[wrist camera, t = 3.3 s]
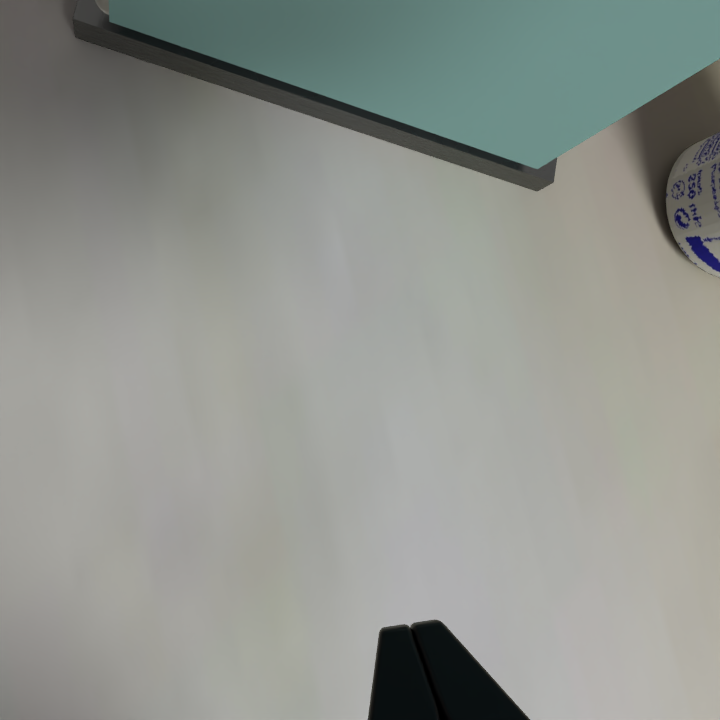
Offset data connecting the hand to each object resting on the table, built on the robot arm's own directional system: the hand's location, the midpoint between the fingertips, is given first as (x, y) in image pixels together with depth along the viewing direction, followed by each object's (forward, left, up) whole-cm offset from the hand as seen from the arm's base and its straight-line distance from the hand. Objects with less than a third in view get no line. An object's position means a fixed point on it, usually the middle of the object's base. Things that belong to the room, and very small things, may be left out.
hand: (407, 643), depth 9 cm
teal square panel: (+14, -1, -11) cm, 17 cm away
